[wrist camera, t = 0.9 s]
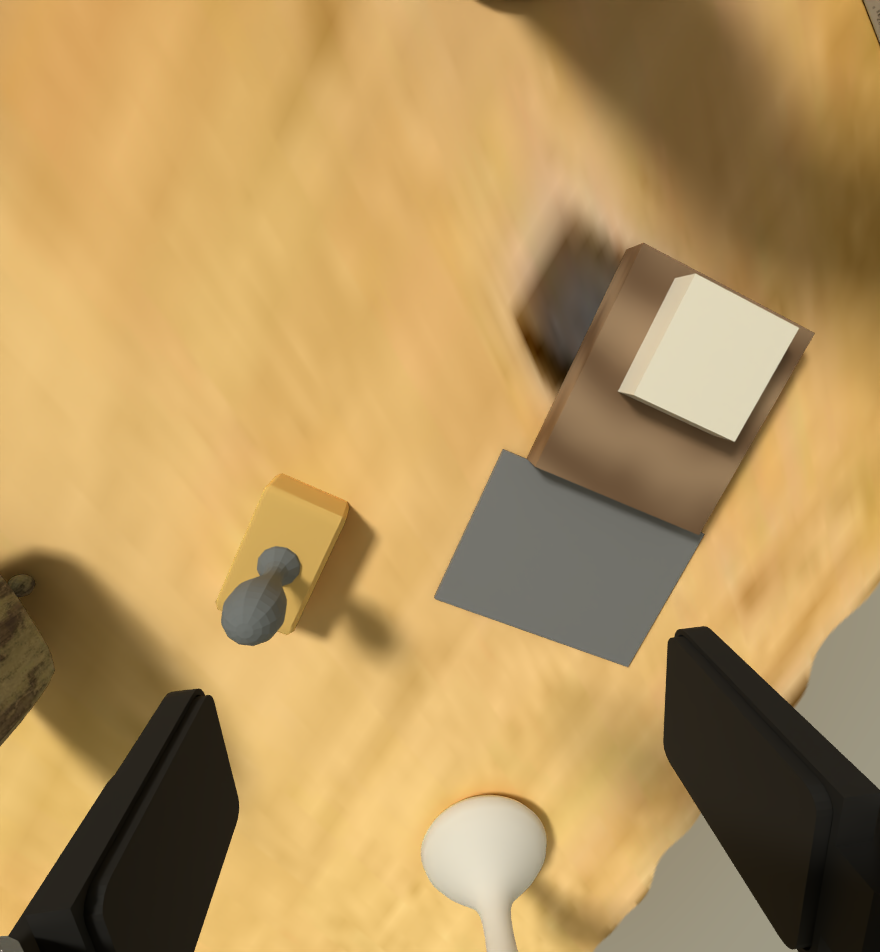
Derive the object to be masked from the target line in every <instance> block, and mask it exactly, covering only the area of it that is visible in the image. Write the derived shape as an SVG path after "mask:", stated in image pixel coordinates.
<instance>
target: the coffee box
mask: <svg viewBox="0 0 880 952" xmlns="http://www.w3.org/2000/svg"><path fill="white" fill-rule="evenodd" d="M863 1H864V3H865V6H866V8H867V11H868V14H869V16H870V19H871V22H872V24H873V27H874V29H875V32H876V35H877V37H878V40H879V42H880V0H863Z"/></svg>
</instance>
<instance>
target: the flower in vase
mask: <svg viewBox="0 0 880 952" xmlns="http://www.w3.org/2000/svg"><path fill="white" fill-rule="evenodd" d="M546 845H547V839H546V832H545V829H544V826H543V824H542V822H541V820H540V819H539V818H538V816H537V815H536V814H535V813H534V812H533V811H532V810H530V809H529V808H528V807H526V806H525V805H523V804H522V803H520V802H519V801H516V800H514V799H511V798H508V797H504V796H499V795H481V796H474V797H471V798H467V799H464V800H461V801H459V802H457V803H455V804H453V805H451V806H450V807H448V808H447V809H445V810H444V811H443V812H442V813H441V814H440V815H439V816H438V817H437V818H436V819H435V820H434V821H433V823H432V824H431V826H430V827H429V829H428V831H427V832H426V834H425V836H424V839H423V842H422V846H421V860H422V864H423V867H424V870H425V872H426V874H427V876H428V878H429V880H430V882H431V883H432V884H433V886H434V887H435V888H436V889H437V890H438V891H440V892H441V893H442V894H444V895H445V896H446V897H448V898H449V899H451V900H452V901H454V902H456V903H459V904H461V905H464V906H466V907H469V908H472V909H474V910H476V911H477V912H478V914H479V916H480V918H481V921H482V924H483V929H484V935H485V941H486V950H487V952H518V950H517V946H516V942H515V938H514V934H513V928H512V921H511V906H512V903H513V902H514V901H515V900H516V899H517V898H518V897H519V896H520V895H521V894H522V893H523V892H524V891H525V890H526V889H527V888H528V887H529V886H530V885H531V884H532V883H533V881H534V879H535V878H536V876H537V875H538V873H539V871H540V870H541V868H542V866H543V863H544V860H545V855H546Z"/></svg>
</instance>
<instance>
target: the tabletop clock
mask: <svg viewBox="0 0 880 952" xmlns="http://www.w3.org/2000/svg"><path fill="white" fill-rule="evenodd" d="M34 586H35V581H34V579H33V578H32V577H31V576H29V575H25V574H21V575H16V576H14V577H12V578H11V579H10V580H9V581H8V583H6V581H5V580H4V579H3V577H2V576H1V575H0V746H1V745H2V744H3V743H4V741H5V740H6V739H7V738H8V737H9V736H10V734H11V733H12V732H13V731H14V730H15V729H16V727H17V726H18V725H19V724H20V723H21V721H22V720H23V719H24V717H25V716H26V715H27V713H28V712H29V711H30V710H31V708H32V707H33V706H34V704H35V703H36V702H37V700H38V699H39V698H40V696H41V695H42V693H43V692H44V690H45V689H46V687H47V686H48V684H49V682H50V680H51V678H52V675H53V673H54V671H55V668H54V664H53V660H52V656H51V653H50V651H49V648H48V646H47V644H46V642H45V641H44V639H43V637H42V636H41V634H40V632H39V631H38V629H37V628H36V626H35V624H34V623H33V621H32V620H31V618H30V616H29V615H28V613H27V612H26V610H25V608H24V607H23V605H22V603H21V602H20V600H19V599H18V597H23V596H26V595H28V594H30V593H31V592H32V591H33V589H34Z"/></svg>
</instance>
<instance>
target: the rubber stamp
mask: <svg viewBox="0 0 880 952" xmlns="http://www.w3.org/2000/svg"><path fill="white" fill-rule="evenodd" d="M348 511H349V505H348V502H347V501H345V500H342V499H340V498H338V497H336V496H333V495H331V494H329V493H326V492H324V491H322V490H319V489H317V488H315V487H312V486H310V485H308V484H305V483H303V482H301V481H299V480H296V479H294V478H292V477H289V476H287V475H285V474H280V475H277V476H275V477H274V479H273V480H272V481H271V482H270V483H269V484H268V485H267V486H266V487H265V489H264V491H263V493H262V496H261V498H260V500H259V503H258V505H257V507H256V510H255V512H254V514H253V517H252V519H251V521H250V524H249V526H248V528H247V531H246V533H245V535H244V538H243V540H242V542H241V545H240V547H239V549H238V552H237V554H236V556H235V559H234V561H233V563H232V565H231V568H230V570H229V572H228V575H227V577H226V579H225V582H224V584H223V586H222V589H221V591H220V593H219V596H218V598H217V600H216V605H217V609H218V610H221V611H222V619H221V623H222V626H223V628H224V630H225V632H226V634H227V636H228V637H229V638H230V639H232V640H233V641H235V642H236V643H238V644H241V645H250V646H254V645H257V644H260V643H263V642H266V641H268V640H269V639H271V638H272V636H273V635H274V634H275V633H276V632H280V633H283V634H285V635H288V634H290V633H291V632H293V631H294V630H295V627H296V625H297V623H298V621H299V619H300V617H301V615H302V613H303V610H304V608H305V606H306V604H307V602H308V600H309V598H310V596H311V594H312V591H313V589H314V587H315V585H316V583H317V581H318V579H319V577H320V574H321V572H322V570H323V568H324V566H325V564H326V562H327V560H328V558H329V555H330V553H331V551H332V549H333V547H334V545H335V543H336V541H337V539H338V536H339V534H340V532H341V530H342V528H343V526H344V524H345V521H346V518H347V514H348Z"/></svg>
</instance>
